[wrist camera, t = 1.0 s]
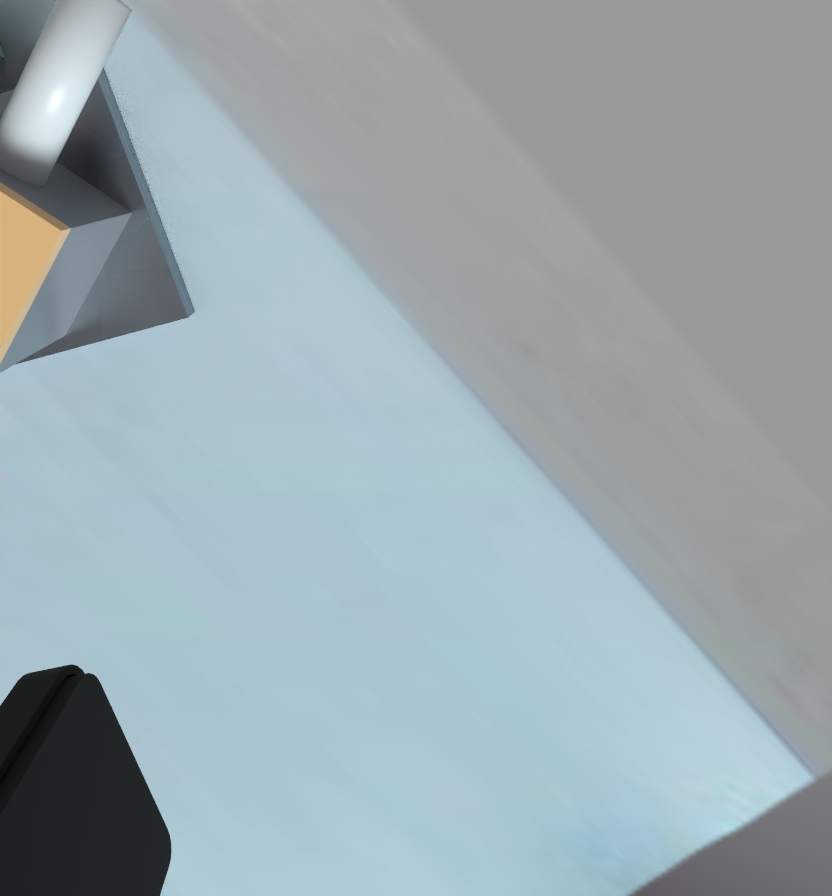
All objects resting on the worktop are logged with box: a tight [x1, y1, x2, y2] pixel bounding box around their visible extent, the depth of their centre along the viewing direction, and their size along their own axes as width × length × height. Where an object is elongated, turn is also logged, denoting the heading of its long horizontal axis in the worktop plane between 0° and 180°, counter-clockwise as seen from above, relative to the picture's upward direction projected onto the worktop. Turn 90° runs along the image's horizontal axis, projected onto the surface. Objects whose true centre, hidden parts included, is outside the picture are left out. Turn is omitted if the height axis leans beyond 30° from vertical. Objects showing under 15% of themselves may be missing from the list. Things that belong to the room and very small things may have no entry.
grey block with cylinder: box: [0, 0, 133, 372], centre depth 24 cm, size 12×6×6 cm, turn 145°
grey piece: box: [0, 68, 195, 364], centre depth 26 cm, size 9×9×6 cm
